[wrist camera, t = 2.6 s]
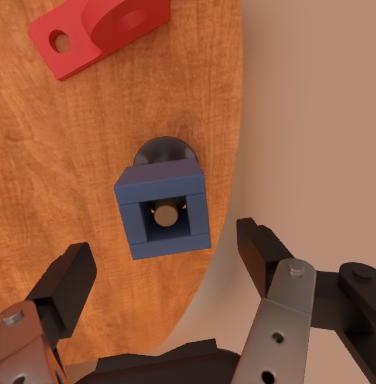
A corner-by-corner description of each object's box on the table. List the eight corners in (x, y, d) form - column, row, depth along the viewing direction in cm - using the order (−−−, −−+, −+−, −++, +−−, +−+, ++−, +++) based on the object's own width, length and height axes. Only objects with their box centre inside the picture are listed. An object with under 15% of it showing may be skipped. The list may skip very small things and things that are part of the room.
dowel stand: (194, 132, 25) (217, 153, 14) (201, 193, 28) (224, 253, 16) (127, 141, 24) (94, 170, 13) (141, 202, 27) (123, 269, 16)
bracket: (145, -38, 19) (131, -127, 12) (169, 20, 21) (171, -27, 13) (30, 31, 20) (-48, -12, 13) (62, 81, 22) (9, 68, 14)
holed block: (195, 157, 18) (204, 173, 13) (202, 218, 20) (211, 248, 16) (125, 167, 17) (112, 186, 13) (140, 227, 20) (132, 260, 15)
